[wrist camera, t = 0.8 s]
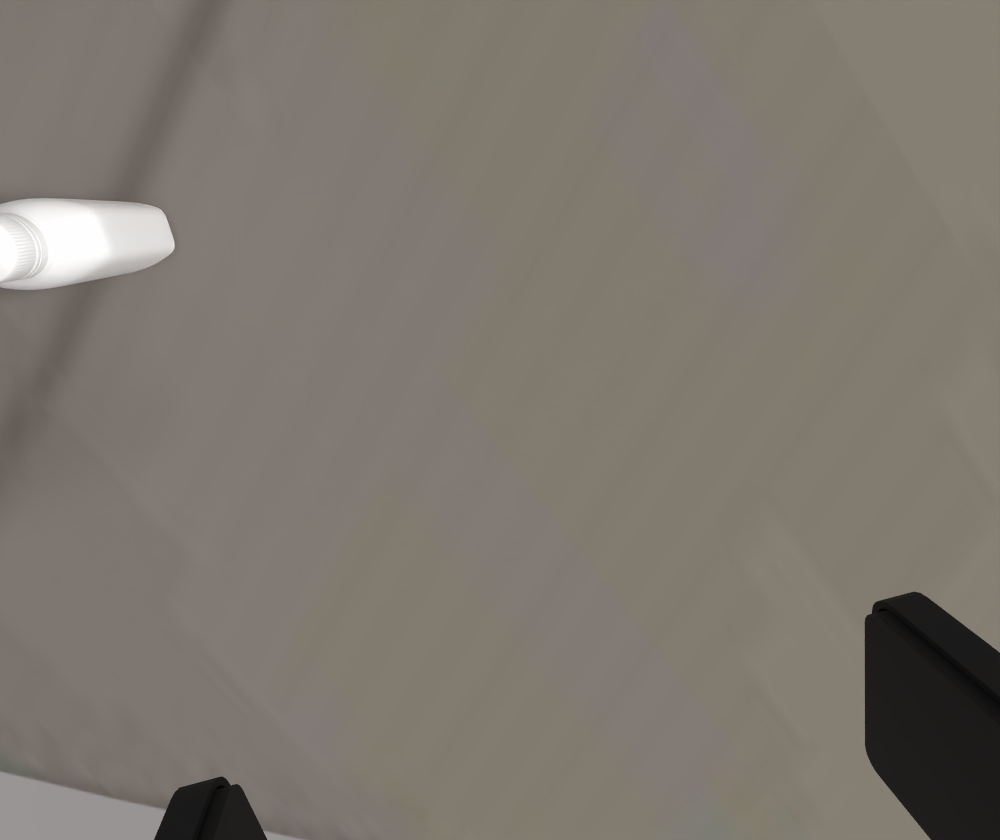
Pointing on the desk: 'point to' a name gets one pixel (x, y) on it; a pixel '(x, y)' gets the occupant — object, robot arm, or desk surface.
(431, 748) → the desk surface
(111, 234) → the eye dropper bottle
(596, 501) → the desk surface
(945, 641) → the robot arm
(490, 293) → the desk surface
